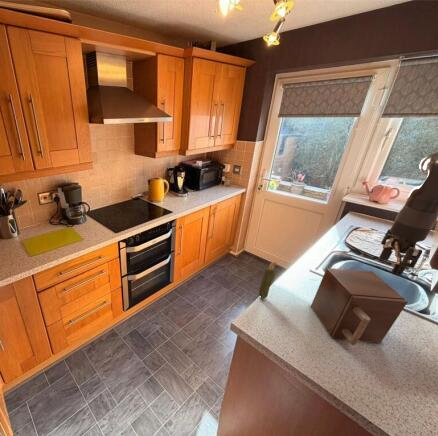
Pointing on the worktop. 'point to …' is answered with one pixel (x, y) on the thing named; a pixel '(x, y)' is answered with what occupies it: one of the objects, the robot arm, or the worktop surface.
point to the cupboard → (346, 293)
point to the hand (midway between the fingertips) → (389, 266)
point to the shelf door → (367, 318)
